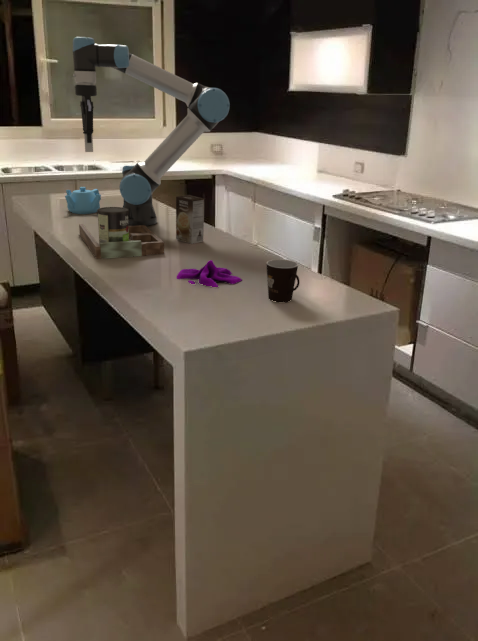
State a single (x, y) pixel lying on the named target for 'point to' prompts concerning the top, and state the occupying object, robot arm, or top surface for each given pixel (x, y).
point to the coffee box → (189, 219)
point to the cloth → (209, 275)
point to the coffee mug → (281, 279)
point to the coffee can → (113, 224)
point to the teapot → (83, 201)
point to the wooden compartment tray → (125, 244)
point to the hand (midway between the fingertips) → (89, 151)
